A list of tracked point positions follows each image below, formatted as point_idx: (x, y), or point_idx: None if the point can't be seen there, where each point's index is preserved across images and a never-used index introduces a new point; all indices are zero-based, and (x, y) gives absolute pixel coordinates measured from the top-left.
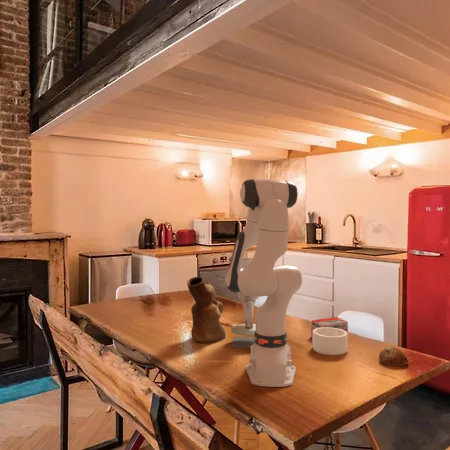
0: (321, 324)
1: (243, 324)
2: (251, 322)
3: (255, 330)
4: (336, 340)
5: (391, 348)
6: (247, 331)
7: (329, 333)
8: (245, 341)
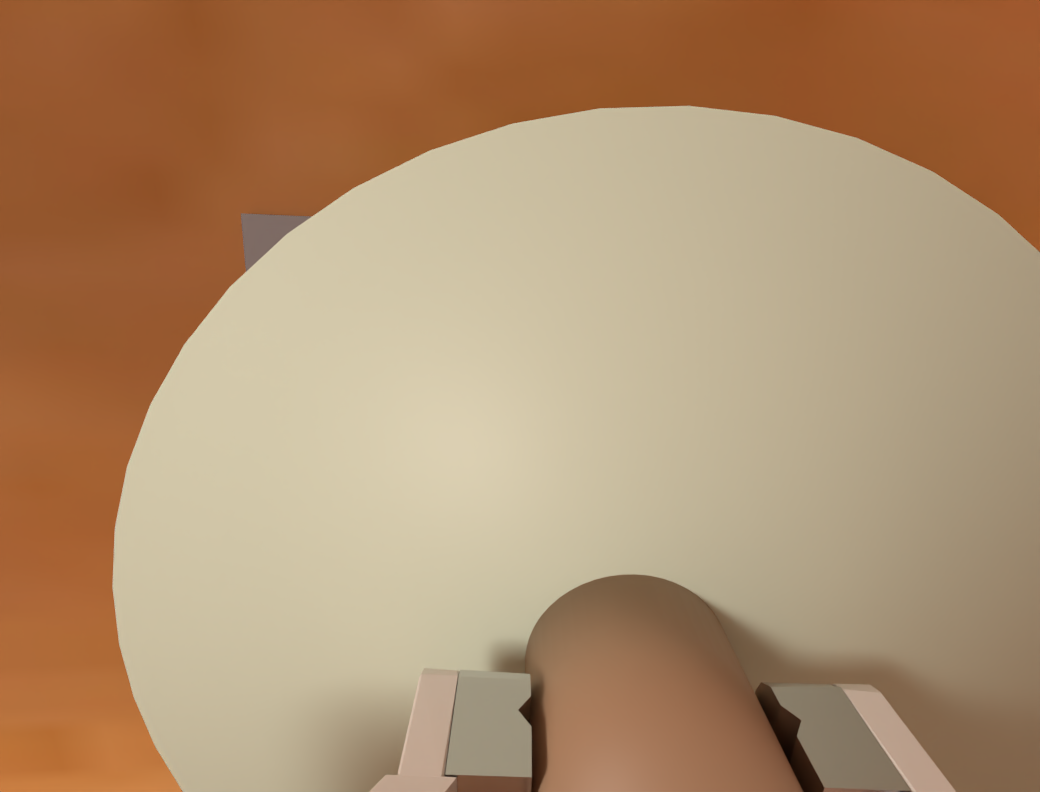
0: None
1: (234, 779)
2: (784, 760)
3: (961, 510)
4: None
5: None
6: (1014, 703)
7: None
8: None
